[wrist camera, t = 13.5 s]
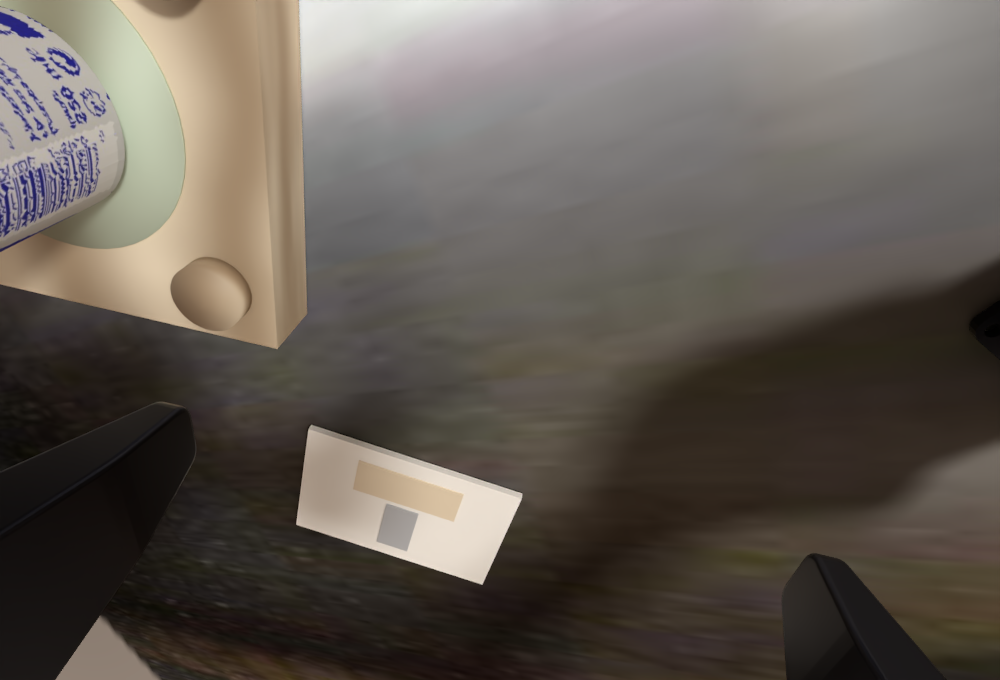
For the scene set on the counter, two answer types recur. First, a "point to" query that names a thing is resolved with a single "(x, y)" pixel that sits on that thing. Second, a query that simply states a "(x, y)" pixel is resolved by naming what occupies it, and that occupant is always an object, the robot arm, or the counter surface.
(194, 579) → the counter surface
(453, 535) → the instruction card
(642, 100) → the counter surface
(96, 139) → the beverage can
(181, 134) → the base brick
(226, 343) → the counter surface
